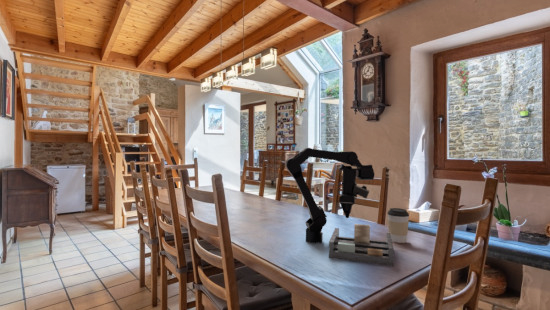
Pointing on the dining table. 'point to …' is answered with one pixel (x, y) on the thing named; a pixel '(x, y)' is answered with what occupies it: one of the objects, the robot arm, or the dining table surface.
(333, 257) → the rack
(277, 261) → the dining table surface
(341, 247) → the offcut
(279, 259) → the dining table surface
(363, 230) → the birch panel
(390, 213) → the coffee cup
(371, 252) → the offcut
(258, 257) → the dining table surface
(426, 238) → the dining table surface
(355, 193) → the robot arm
